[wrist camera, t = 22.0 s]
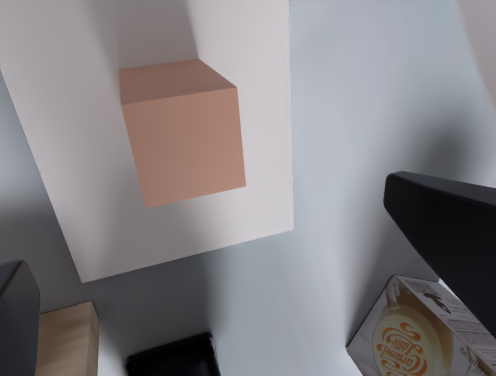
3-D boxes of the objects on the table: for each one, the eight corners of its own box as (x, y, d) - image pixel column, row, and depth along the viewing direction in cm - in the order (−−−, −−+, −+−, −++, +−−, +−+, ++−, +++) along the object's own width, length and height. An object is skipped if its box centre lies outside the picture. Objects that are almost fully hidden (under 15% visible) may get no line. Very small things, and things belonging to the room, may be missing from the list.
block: (199, 58, 19) (237, 87, 13) (209, 132, 21) (246, 186, 15) (118, 69, 18) (120, 104, 12) (136, 145, 20) (146, 208, 14)
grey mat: (280, -140, 17) (285, -144, 17) (290, 224, 27) (293, 229, 26) (-73, -136, 14) (-80, -142, 13) (82, 277, 23) (81, 283, 23)
